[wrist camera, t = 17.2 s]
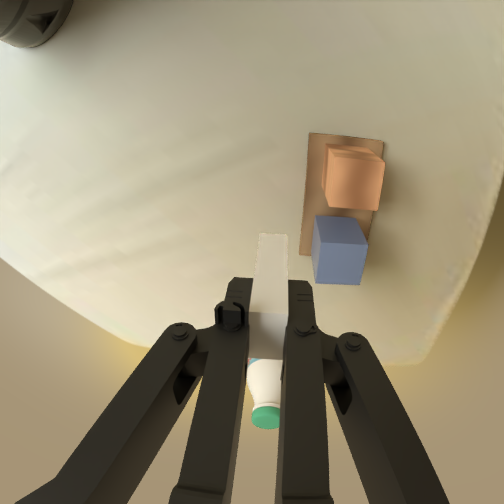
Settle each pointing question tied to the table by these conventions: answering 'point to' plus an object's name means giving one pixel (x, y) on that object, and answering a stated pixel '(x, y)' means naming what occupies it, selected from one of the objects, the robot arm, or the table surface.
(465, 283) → the table surface
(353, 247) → the slate blue cube
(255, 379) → the milk bottle
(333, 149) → the organizer
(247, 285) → the robot arm
